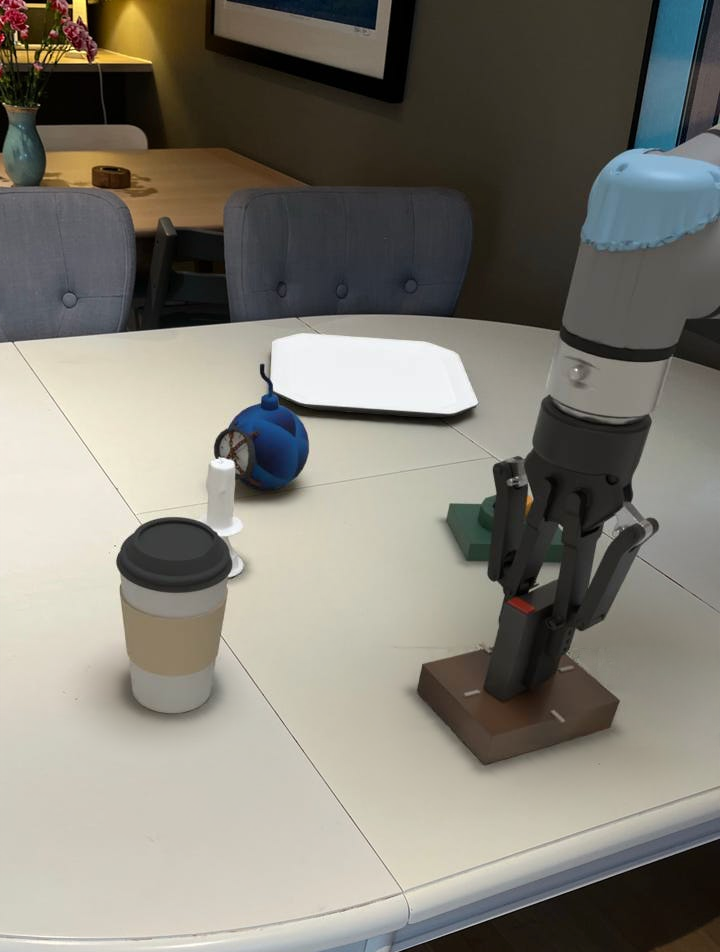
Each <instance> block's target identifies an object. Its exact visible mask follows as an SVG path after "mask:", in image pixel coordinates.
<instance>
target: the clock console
mask: <svg viewBox="0 0 720 952" xmlns="http://www.w3.org/2000/svg"><path fill="white" fill-rule="evenodd" d="M478 646H479V647H480V648H482V649H479V650H474V651H470V652H465V653H462V654H458V655H453V656H449V657H445V658H441V659H437V660H433V661H428V662H424V663H422V664H421V668H420V673H419V678H418V682H417V688H416V692H417V693H418V695H419V696H420V697H421V698H422V699H423V700H424V701H425V703H427V704H428V705H429V707H430V708H431V709H432V710H433V711H434V712H435V713H436V714H437V715H438V716H439V718H440V719H441V720H442V721H443V722H444V723H445V724H446V725H447V726H448V727H449V728H450V729H451V730H452V731H453V733H454V734H455V735H456V736H457V737H458V739H460V740H461V742H462V743H464V745H465V746H466V747H467V748H468V749H469V750H470V751H471V752H472V753H473V754H474V756H476V758H477V759H478V760H479V761H480V762H481V763H482V764H483V765H488V764H492V763H495V762H498V761H502V760H506V759H509V758H512V757H515V756H519V755H522V754H525V753H529V752H533V751H535V750H539V749H543V748H546V747H549V746H550V747H551V746H553V745H556V744H559V743H560V744H561V743H564V742H567V741H570V740H573V739H577V738H580V737H583V736H587V735H590V734H593V733H594V734H595V733H597V732H601V731H604V730H608V729H610V728H612V725H613V722H614V719H615V716H616V714H617V710H618V708H619V705H620V703H621V699H620V698H618V697H617V696H616V695H615V694H613V692H611V691H610V690H609V689H608V688H607V687H605V685H603V684H602V683H601V682H600V681H599V680H598V679H596V678H595V677H594V676H593V675H592V674H590V673H589V672H588V671H587V670H586V669H584V667H582V666H581V665H580V664H579V663H577V661H575V659H573V658H572V657H571V656H569V655H568V654H567V653H566V654H564V655H562V656H561V659H560V662H559V666H558V669H557V672H556V674H554V675H552V676H551V678H550V679H548V680H547V681H545V682H543V683H541V684H540V685H538V686H536V687H534V688H532V689H531V690H530V689H527V690H525V691H523V692H521V693H519V694H518V695H516V696H514V697H512V698H510V699H508V700H507V701H505V702H502V701H500V700H499V699H497V698H496V697H494V696H493V695H492V694H490V693H489V692H487V691H486V690H484V689H483V686H484V683H485V679H486V675H487V671H488V667H489V663H490V659H491V655H492V651H493V647H494V646H491V647H487V645H486V644H485V643H483V642H481V643H479V644H478Z"/></svg>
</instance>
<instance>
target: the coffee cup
mask: <svg viewBox="0 0 720 952" xmlns="http://www.w3.org/2000/svg"><path fill="white" fill-rule="evenodd" d="M197 520H198V519H193V518H189V517H181V516H165V517H159V518H155V519H151V520H149V521H146V522H143V524H140V526H138V527H137V528H136V529H135V530H134V532H133V533H131V534H130V535H129V536H128V537H126V539H125V540H124V541H123V542H122V544H121V546H120V549H119V552H118V554H117V556H116V559H115V564H116V568H117V570H118V571H119V576H120V577H119V578H120V584H119V598H120V607H121V614H122V622H123V629H124V630H123V631H124V632H123V633H124V640H125V647H126V654H127V656H128V661H129V670H130V679H131V680H130V681H131V689H132V694H133V697H134V698H135V699H136V701H137V702H138V703H139V704H140V705H142V706H143V707H145V708H147V709H148V710H151V711H155V712H158V713H162V714H180V713H181V714H182V713H186V712H190V711H192V710H195V709H197V708H199V707H201V706H202V705H203V704H205V703H206V701H207V700H208V699H209V698H210V695H211V692H212V688H213V687H212V686H213V681H214V676H215V675H214V674H215V667H216V660H217V657H218V654H219V649H220V643H221V638H222V630H223V626H224V625H223V624H224V619H225V612H226V606H227V601H228V595H229V588H228V580H229V578H228V575H229V574H230V572H231V570H232V564H233V563H232V559H231V556H230V551H229V548H228V545H227V544H226V542H225V541H224V540H223V539H222V538H221V537H220V536H219V535H218V534H217V532H215V531H214V530H213V529H212V528H210V527H209V526H208V525H206V524H204V523H202V522H200V521H197Z"/></svg>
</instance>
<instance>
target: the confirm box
mask: <svg viewBox="0 0 720 952" xmlns="http://www.w3.org/2000/svg"><path fill="white" fill-rule="evenodd" d="M495 500H496V494H494V495H491V496H487V497H485V498H484V499H483V501H482V502H481V503H456V502H454V503H452V502H451V503H450V502H449V504H448V509H447V514H446V520H445V521H446V523H447V525H448V526H449V529H450V530H451V532H452V535H453V537H454V538H455V540H456V543H457V544H458V547H459V549H460V550H461V553H462V555H463V556H464V559H465V560H466V561H467V562H488V561H489V552H490V544H491V535H492V526H493V517H494V509H495ZM525 521H526V517H525V519H524V527H523V534H524V532H525V529H526V527H527V523H526V522H525ZM562 531H563V529H561V527H560V526H559V525H558V528H557V530H556V533H555V535H554V537H553V540H552V542H551V545H550V547H549V550H548V552H547V555H546V557H545V560H544V562H543V563H561V559H562V553H563V547H564V544H563V543H562V542H561V537H562ZM523 534H522V537H523Z"/></svg>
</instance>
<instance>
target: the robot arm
mask: <svg viewBox="0 0 720 952" xmlns="http://www.w3.org/2000/svg"><path fill="white" fill-rule="evenodd" d="M586 209H587V213H586V218H585V222H584V223H583V225H582V226H581V232H580V243H579V247H578V252H577V256H576V260H575V265H574V269H573V272H572V277H571V281H570V286H569V290H568V294H567V298H566V303H565V306H564V310H563V315H562V319H561V324H560V329H559V332H558V334H557V335H558V336H557V339H556V343H555V346H554V351H553V357H552V359H551V363H550V369H549V372H548V376H547V381H546V384H545V390H546V392H547V393H548V394H547V396H545V397H544V398H543V399H542V400H541V403H540V406H539V409H538V414H537V419H536V423H535V426H534V431H533V434H532V440H531V443H532V449H531V450H530V451H529V453H527V454H526V456H525V457H524V458H523V457H522V456H521V455H516V456H513V457H511V458H507V459H505V460H502V461H499V462H496V463H495V464H493V466H492V475H493V482H494V486H495V492H496V493H495V495H496V500H495V509H494V517H493V526H492V535H491V544H490V552H489V561H487V570H486V575H487V578H488V579H489V580H490V581H491V582H494V583H495V582H497V583H498V584H499V585H500V586H501V588H502V592H503V595H504V596H503V600H502V604H501V608H500V611H499V612H500V613H499V616H498V625H499V624H500V620H501V616H502V612H503V608H504V604H505V603H507V602H508V601H509V600H511V599H513V598H515V597H520V596H522V595H524V594H526V593H528V592H530V591H531V590H533V589H534V588H535V589H536V588H538V587H539V585H540V583H539V582H538V583H537V579H538V577H539V574H540V572H541V569H542V567H543V565H544V563H545V562H544V560H545V557H546V555H547V552H548V550H549V547H550V545H551V542H552V540H553V537H554V535H555V533H556V530H557V528H558V526H559V525H560V526H561V528H562V537H561V542H562V543H563V544H564V547H563V553H562V559H561V562H560V566H559V571H558V577H557V579H558V583H557V589H556V595H555V601H554V607H553V613H552V614H551V615H549V616H547V617H545V618H544V619H542V620H541V623H540V626H539V630H538V633H537V637H536V640H535V644H534V647H533V651H532V654H531V658H530V661H529V665H528V668H527V672H526V675H525V679H524V682H523V686H525V687H526V688H528V689H530V690H531V689H532V688H534V687H536V686H538V685H540V684H541V683H543V682H545V681H547V680H548V679H550V678H551V675H552V672H553V668H554V665H555V662H556V659H557V658H559V657H561V656H562V655H564V654H567V653H568V652H569V651H570V648H571V646H572V643H573V639H574V637H575V636H574V635H575V632H576V630H577V631H579V632H585V631H586V630H588V629H590V628H592V627H594V626H596V625H598V624H599V623H601V622H603V621H604V620H605V619H606V618H607V615H608V614H609V612H610V609H611V608H612V606H613V604H614V601H615V599H616V597H617V595H618V593H619V591H620V589H621V588H622V585H623V583H624V581H625V579H626V577H627V576H628V573H629V572H630V569H631V567H632V565H633V563H634V561H635V559H636V557H637V555H638V553H639V551H640V549H641V547H642V546H643V545H644V544H646V542H647V541H649V540H650V539H651V538H652V537H653V536H654V535H655V534H656V533H658V531H660V530H659V529H660V525H659V522H658V519H656V518H654V517H647V518H645V517H644V516H643V515H642V514H641V512H640V511H639V510H638V509H637V508H636V507H635V506H634V504H633V503H632V502H633V499H634V491H633V476H634V474H635V472H636V470H637V468H638V466H639V464H640V462H641V458H642V456H643V452H644V448H645V446H646V442H647V439H648V436H649V433H650V431H651V427H652V424H653V423H652V422H653V420H652V417H651V416H650V414H651V413H653V412H656V409H658V406H659V403H660V399H661V397H662V393H663V389H664V385H665V383H666V379H667V375H668V372H669V369H670V366H671V362H672V358H673V356H674V354H675V353H676V349H677V345H678V342H679V340H680V337H681V335H682V332H683V329H684V327H685V323H686V321H687V320H708V319H709V320H710V319H711V320H712V319H713V320H715V319H716V320H719V319H720V122H719V123H717V124H716V125H714V126H711V128H709V129H707V130H705V131H703V132H701V133H700V134H698V135H696V136H694V137H692V138H690V139H688V140H687V141H685V142H683V143H682V144H680V145H678V146H676V147H674V148H672V149H670V150H668V151H665V150H664V149H661V148H658V147H657V148H654V147H651V148H645V147H644V148H643V147H641V148H633V149H628V150H626V151H624V152H621V153H619V154H618V155H616V156H615V157H614V158H613V159H611V160H610V161H609V162H608V163H607V164H606V165H605V166H604V167H603V168H602V169H601V171H600V172H599V173H598V175H597V176H596V178H595V180H594V182H593V184H592V187H591V189H590V192H589V196H588V200H587V208H586ZM529 489H530V493H531V496H532V504H531V507H530V509H529V512H528V515H527V517H526V521H525V522H526V523H527V527H526V529H525V532H524V534H523V527H524V519H525V512H526V504H527V497H528V495H529ZM613 517H616V524H615V525H614V527H613V530H612V532H611V535H612V537H613V538H614V539H613V540H612V541H611V542H610V543H609V545H608V546H607V547H606V550H605V552H604V553H603V556H602V558H601V560H600V563H599V564H598V567H597V569H596V571H595V573H594V575H593V577H592V579H591V576H592V570H593V564H594V559H595V554H596V548H597V544H598V541H599V539H600V538H601V537H602V535H603V530H604V525H605V522H607V521H609V520H610V519H612V518H613ZM522 534H523V537H522Z"/></svg>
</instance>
